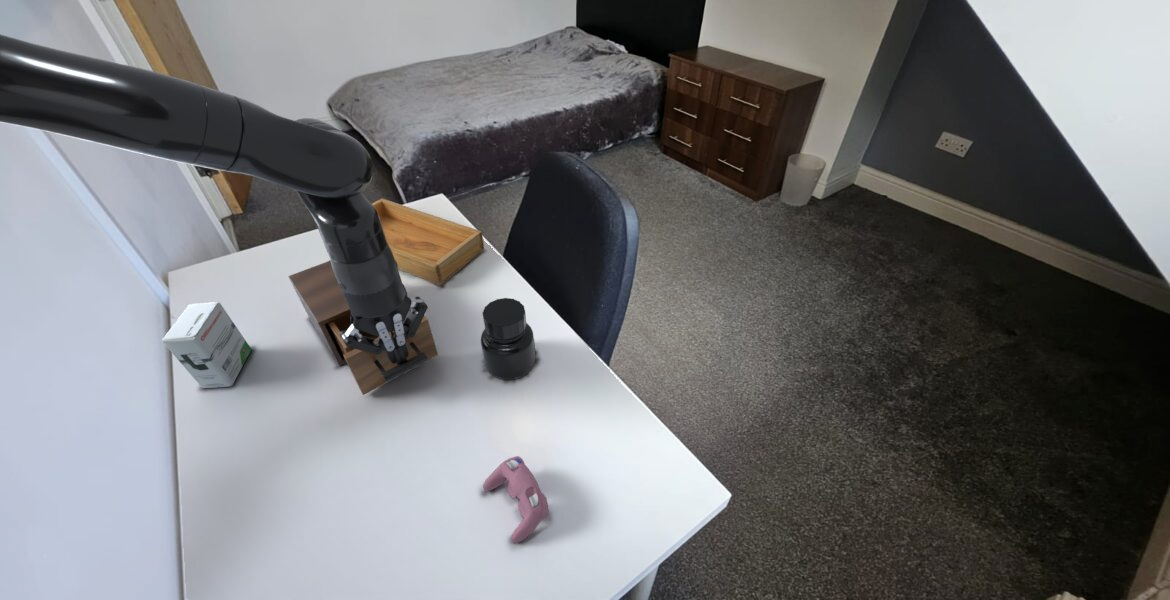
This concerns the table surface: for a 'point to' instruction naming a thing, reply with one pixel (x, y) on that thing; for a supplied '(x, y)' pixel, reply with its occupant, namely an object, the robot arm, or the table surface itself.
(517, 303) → the ink bottle
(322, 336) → the cabinet
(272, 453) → the table surface
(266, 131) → the robot arm
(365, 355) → the drawer
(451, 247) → the tray
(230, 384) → the ink box
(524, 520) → the video game controller
